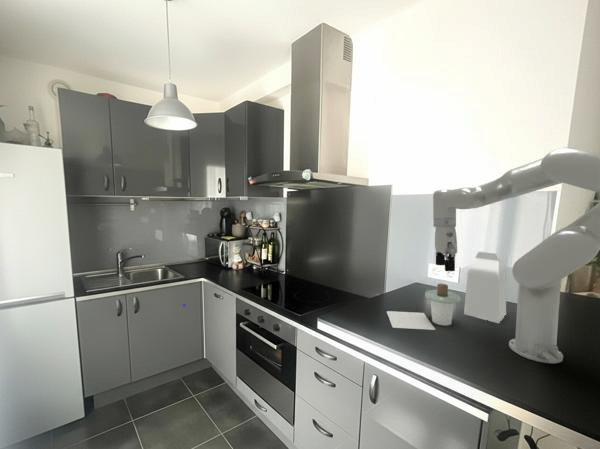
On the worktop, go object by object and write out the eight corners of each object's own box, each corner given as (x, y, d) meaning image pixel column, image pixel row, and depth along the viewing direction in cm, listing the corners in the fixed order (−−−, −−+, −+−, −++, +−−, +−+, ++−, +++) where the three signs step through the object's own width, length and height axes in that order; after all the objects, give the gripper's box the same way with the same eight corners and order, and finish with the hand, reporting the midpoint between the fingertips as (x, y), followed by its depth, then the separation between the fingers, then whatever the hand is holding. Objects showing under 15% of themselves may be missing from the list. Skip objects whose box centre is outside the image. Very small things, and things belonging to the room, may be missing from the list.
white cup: (447, 318, 108) (448, 294, 107) (457, 327, 101) (457, 301, 100) (427, 318, 109) (427, 294, 108) (434, 327, 101) (435, 301, 100)
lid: (466, 304, 97) (466, 290, 97) (430, 303, 99) (431, 289, 99) (452, 292, 109) (453, 280, 109) (421, 291, 111) (421, 280, 110)
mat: (435, 331, 98) (435, 329, 98) (392, 328, 101) (392, 327, 101) (423, 313, 113) (423, 312, 113) (386, 312, 115) (386, 311, 115)
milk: (463, 314, 112) (465, 252, 110) (472, 306, 120) (474, 248, 117) (498, 323, 103) (501, 256, 101) (506, 314, 111) (509, 252, 108)
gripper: (465, 224, 92) (465, 273, 93) (446, 221, 109) (446, 263, 110) (442, 224, 93) (442, 273, 95) (427, 221, 110) (427, 263, 112)
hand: (444, 267), depth 102 cm, fingers open, 9 cm apart
